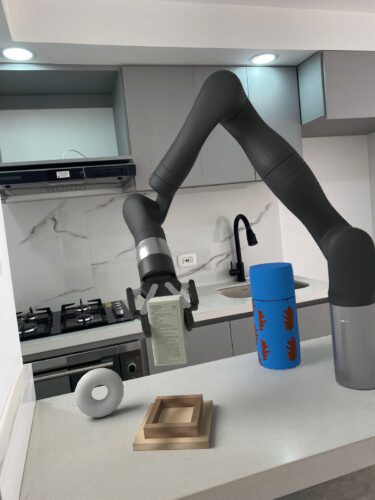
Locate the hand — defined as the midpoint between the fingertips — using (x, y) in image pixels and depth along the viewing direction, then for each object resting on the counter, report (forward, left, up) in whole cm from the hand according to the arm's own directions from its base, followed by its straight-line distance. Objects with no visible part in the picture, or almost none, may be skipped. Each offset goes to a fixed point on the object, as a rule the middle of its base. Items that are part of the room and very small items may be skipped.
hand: (169, 332), depth 65 cm
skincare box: (+1, -2, -6) cm, 6 cm away
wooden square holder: (+1, -1, -18) cm, 18 cm away
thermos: (-22, -29, -18) cm, 40 cm away
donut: (+17, -6, -18) cm, 26 cm away
